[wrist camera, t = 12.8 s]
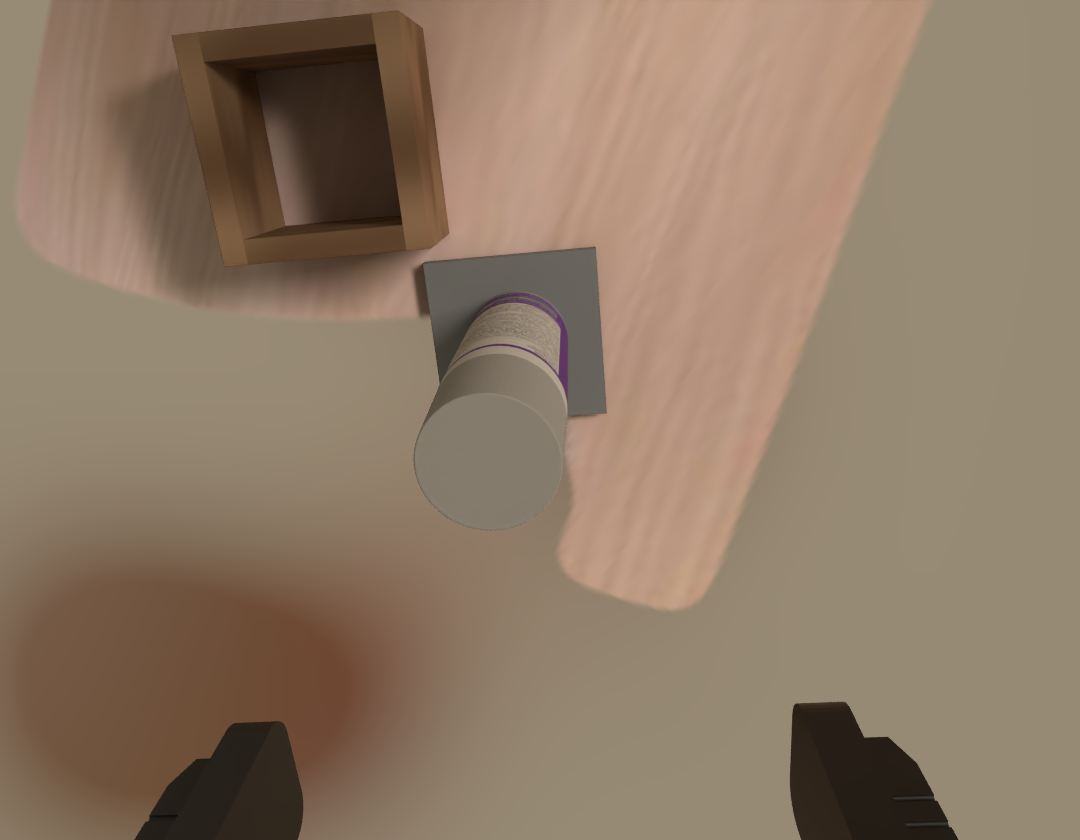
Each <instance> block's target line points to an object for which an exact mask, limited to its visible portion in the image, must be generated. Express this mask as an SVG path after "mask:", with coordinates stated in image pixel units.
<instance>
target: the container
mask: <svg viewBox="0 0 1080 840" xmlns="http://www.w3.org/2000/svg"><path fill="white" fill-rule="evenodd" d="M567 414H568V335H567V328H566V325H565V322H564V320H563V318H562V316H561V314H560V313H559V311H558V310H557V309H556V307H555V306H554V305H553V304H552V303H550V302H549V301H548V300H546V299H545V298H543V297H541V296H539V295H537V294H534V293H531V292H526V291H511V292H506V293H502V294H500V295H497V296H496V297H494V298H492V299H491V300H489V301H488V302H487V303H486V304H484V306H483V307H482V308H481V309H480V310H479V312H478V313H477V315H476V316H475V318H474V320H473V322H472V324H471V325H470V327H469V329H468V331H467V333H466V335H465V337H464V339H463V341H462V343H461V344H460V346H459V348H458V350H457V352H456V354H455V356H454V358H453V360H452V361H451V363H450V365H449V367H448V369H447V371H446V373H445V375H444V377H443V379H442V381H441V383H440V385H439V388H438V391H437V393H436V395H435V398H434V400H433V402H432V404H431V407H430V409H429V412H428V414H427V416H426V419H425V421H424V423H423V426H422V428H421V430H420V433H419V435H418V438H417V441H416V444H415V449H414V468H415V474H416V477H417V480H418V483H419V485H420V488H421V490H422V491H423V493H424V495H425V496H426V498H427V499H428V500H429V502H430V503H431V504H432V505H433V506H434V507H435V508H436V509H437V510H438V511H439V512H441V513H442V514H443V515H444V516H446V517H447V518H449V519H451V520H453V521H455V522H456V523H459V524H461V525H464V526H467V527H470V528H474V529H480V530H501V529H508V528H512V527H515V526H518V525H521V524H523V523H525V522H527V521H529V520H531V519H532V518H534V517H535V516H537V515H538V514H539V513H540V512H541V511H542V510H544V508H545V507H546V506H547V505H548V504H549V503H550V501H551V500H552V498H553V497H554V495H555V493H556V491H557V489H558V487H559V484H560V481H561V477H562V469H563V458H564V446H565V435H566V424H567Z"/></svg>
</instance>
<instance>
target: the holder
mask: <svg viewBox="0 0 1080 840" xmlns="http://www.w3.org/2000/svg"><path fill="white" fill-rule="evenodd" d="M171 36H172V40H173V44H174V49H175V53H176V57H177V62H178V66H179V71H180V75H181V79H182V84H183V88H184V92H185V97H186V101H187V105H188V110H189V114H190V119H191V123H192V127H193V132H194V136H195V140H196V145H197V149H198V153H199V158H200V162H201V166H202V171H203V175H204V180H205V184H206V188H207V193H208V197H209V201H210V206H211V210H212V214H213V219H214V223H215V228H216V232H217V236H218V241H219V245H220V249H221V254H222V258H223V262H224V267H227V266H238V265H249V264H261V263H272V262H283V261H294V260H305V259H316V258H328V257H339V256H350V255H361V254H372V253H384V252H395V251H406V250H417V249H428V248H432V247H433V246H434V245H436V244H437V243H438V242H439V241H440V240H442V239H443V238H444V237H445V236H447V235H448V234H449V229H448V221H447V213H446V206H445V198H444V190H443V183H442V175H441V167H440V159H439V152H438V144H437V136H436V128H435V121H434V113H433V105H432V97H431V90H430V82H429V74H428V67H427V59H426V51H425V43H424V36H423V28H422V27H420V26H419V25H418V24H416V23H415V22H413V21H412V20H411V19H409V18H408V17H406V16H405V15H404V14H402V13H401V12H399V11H389V12H380V13H371V14H362V15H353V16H344V17H335V18H326V19H317V20H307V21H298V22H289V23H280V24H271V25H262V26H253V27H244V28H235V29H226V30H217V31H208V32H199V33H190V34H181V35H171ZM372 59H378V62H379V69H380V75H381V82H382V89H383V96H384V102H385V109H386V116H387V123H388V129H389V136H390V143H391V149H392V156H393V163H394V170H395V176H396V183H397V190H398V196H399V203H400V210H401V216H390V217H379V218H368V219H358V220H347V221H336V222H325V223H314V224H304V225H293V226H285V223H284V218H283V213H282V208H281V203H280V198H279V193H278V188H277V183H276V178H275V173H274V168H273V163H272V158H271V153H270V148H269V142H268V137H267V132H266V127H265V122H264V117H263V112H262V107H261V102H260V97H259V92H258V87H257V82H256V77H255V72H259V71H269V70H278V69H288V68H297V67H306V66H316V65H325V64H335V63H344V62H353V61H363V60H372Z"/></svg>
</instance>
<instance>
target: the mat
mask: <svg viewBox="0 0 1080 840" xmlns="http://www.w3.org/2000/svg"><path fill="white" fill-rule="evenodd" d="M423 268H424V275H425V282H426V289H427V296H428V303H429V310H430V317H431V324H432V331H433V338H434V345H435V352H436V360H437V366H438V373H439V381H440V383H441V381H442V379H443V377H444V375H445V373H446V371H447V369H448V367H449V365H450V363H451V361H452V360H453V358H454V356H455V354H456V352H457V350H458V348H459V346H460V344H461V343H462V341H463V339H464V337H465V335H466V333H467V331H468V329H469V327H470V325H471V324H472V322H473V320H474V318H475V316H476V315H477V313H478V312H479V310H480V309H481V308H482V307H483V306H484V304H486V303H487V302H488V301H489V300H491V299H492V298H494V297H496V296H497V295H500V294H502V293H506V292H511V291H526V292H531V293H534V294H537V295H539V296H541V297H543V298H545V299H546V300H548V301H549V302H550V303H552V304H553V305H554V306H555V307H556V309H557V310H558V311H559V313H560V314H561V316H562V318H563V320H564V322H565V325H566V328H567V335H568V414H567V416H577V415H591V414H604V413H607V411H606V396H605V381H604V366H603V351H602V336H601V321H600V306H599V291H598V276H597V261H596V248H595V247H588V248H577V249H566V250H554V251H543V252H532V253H520V254H509V255H498V256H486V257H475V258H464V259H452V260H441V261H430V262H424V263H423Z"/></svg>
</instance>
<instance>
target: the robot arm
mask: <svg viewBox="0 0 1080 840" xmlns="http://www.w3.org/2000/svg"><path fill="white" fill-rule="evenodd" d="M791 740H792V741H791V764H790V792H791V800H792V806H793V812H794V817H795V821H796V825H797V828H798V831H799V834H800V837H801V840H958V838H957V836H956V835H955V833H954V831H953V829H952V828H951V827H949V825H948V820H947V818H946V816H945V814H944V813H943V811H942V809H941V807H940V805H939V803H938V801H935V799H934V794H933V792H932V790H931V788H930V787H929V785H928V783H927V781H926V780H925V777H924V776H923V774H922V772H921V770H920V768H919V766H918V764H917V763H916V762H915V761H914V760H913V759H911V757H909V756H908V755H907V754H906V753H905V752H904V751H903V750H902V749H901V748H900V747H898V746H897V745H896V744H895V743H894V742H893V741H892V740H891V739H890V738H888V737H871V738H864V736H863V734H862V732H861V730H860V728H859V726H858V724H857V722H856V719H855V717H854V715H853V713H852V711H851V709H850V707H849V706H848V705H847V704H846V703H845V702H825V703H800V704H795V705H794V708H793V714H792V739H791ZM149 816H150V818H149V821H148V822H145V824H144V825H143V827H142V828H141V830H140V832H139V833H138V835H137V836H136V839H135V840H297V839H298V837H299V833H300V829H301V825H302V818H303V796H302V790H301V786H300V782H299V778H298V774H297V770H296V765H295V761H294V758H293V753H292V749H291V745H290V741H289V737H288V733H287V730H286V727H285V725H284V724H283V723H282V722H279V721H276V722H250V723H249V722H248V723H234V724H232V725H231V726H230V727H229V728H228V729H227V731H226V732H225V734H224V736H223V737H222V739H221V741H220V743H219V744H218V746H217V748H216V750H215V751H214V753H213V755H212V757H211V758H210V759H196V760H195V761H194V762H193V763H192V764H191V765H190V766H189V767H187V769H186V770H184V771H183V772H182V773H181V774H180V775H179V776H178V777H177V778H176V779H175V780H173V781H172V782H171V783H170V784H169V785H168V786H167V788H166V789H165V791H164V793H163V795H162V796H161V798H160V799H159V801H158V802H157V804H156V806H155V807H154V809H153V811H152V812H151V814H150V815H149Z"/></svg>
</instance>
